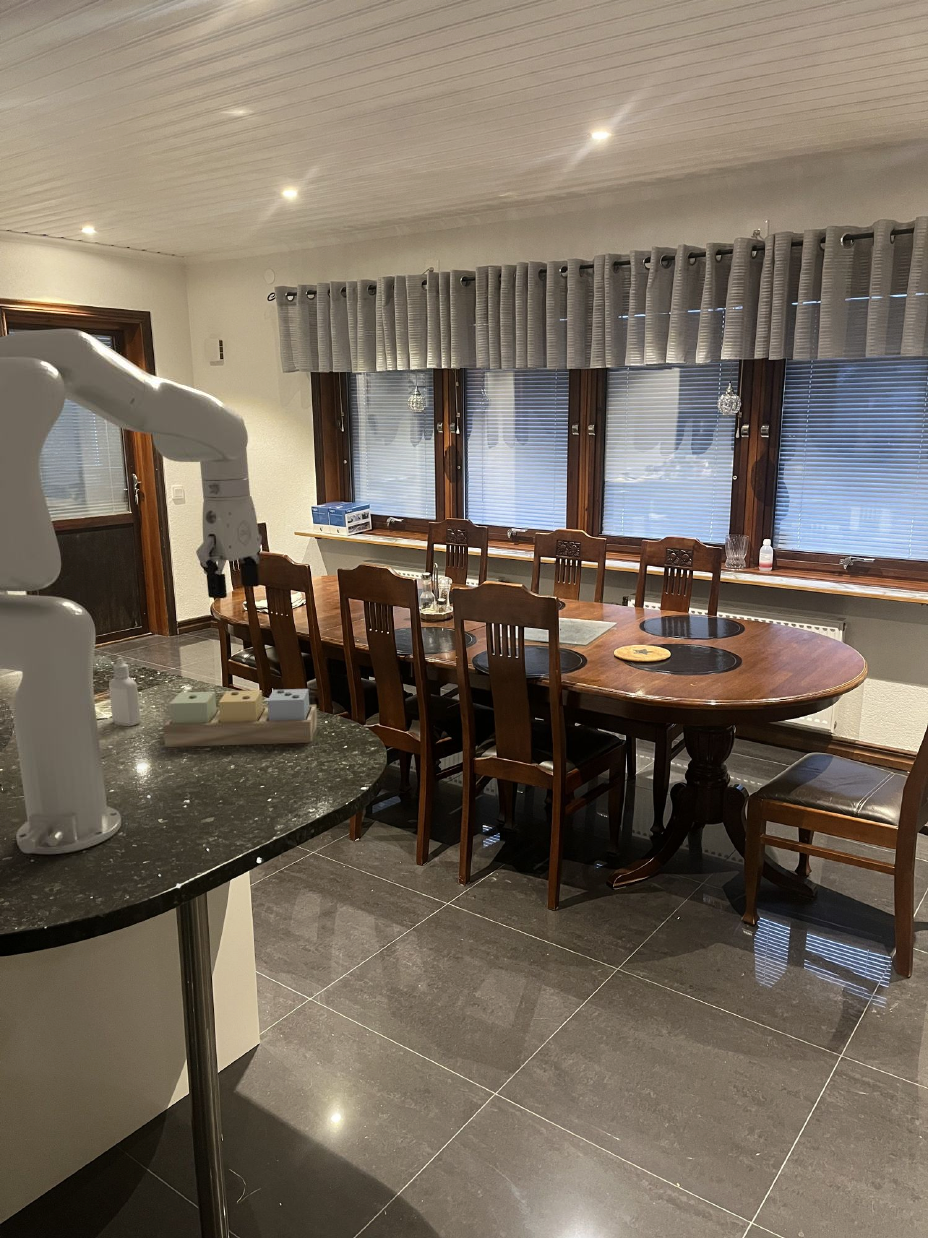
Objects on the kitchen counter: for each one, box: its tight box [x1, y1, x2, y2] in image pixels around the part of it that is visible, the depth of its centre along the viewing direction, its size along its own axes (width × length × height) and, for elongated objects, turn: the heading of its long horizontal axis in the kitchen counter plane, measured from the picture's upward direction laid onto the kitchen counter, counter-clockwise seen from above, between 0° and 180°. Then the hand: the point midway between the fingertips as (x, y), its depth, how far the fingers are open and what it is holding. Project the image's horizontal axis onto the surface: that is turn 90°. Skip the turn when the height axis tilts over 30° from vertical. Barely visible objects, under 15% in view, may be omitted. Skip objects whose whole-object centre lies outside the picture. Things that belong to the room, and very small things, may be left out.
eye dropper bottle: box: [108, 657, 141, 727], centre depth 158 cm, size 4×6×12 cm
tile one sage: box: [169, 691, 217, 724], centre depth 151 cm, size 6×6×4 cm
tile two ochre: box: [218, 689, 264, 722], centre depth 151 cm, size 6×6×4 cm
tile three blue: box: [266, 688, 310, 721], centre depth 151 cm, size 6×6×4 cm
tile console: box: [162, 704, 318, 748], centre depth 152 cm, size 9×24×4 cm, turn 92°
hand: (234, 591), depth 151 cm, fingers open, 9 cm apart
